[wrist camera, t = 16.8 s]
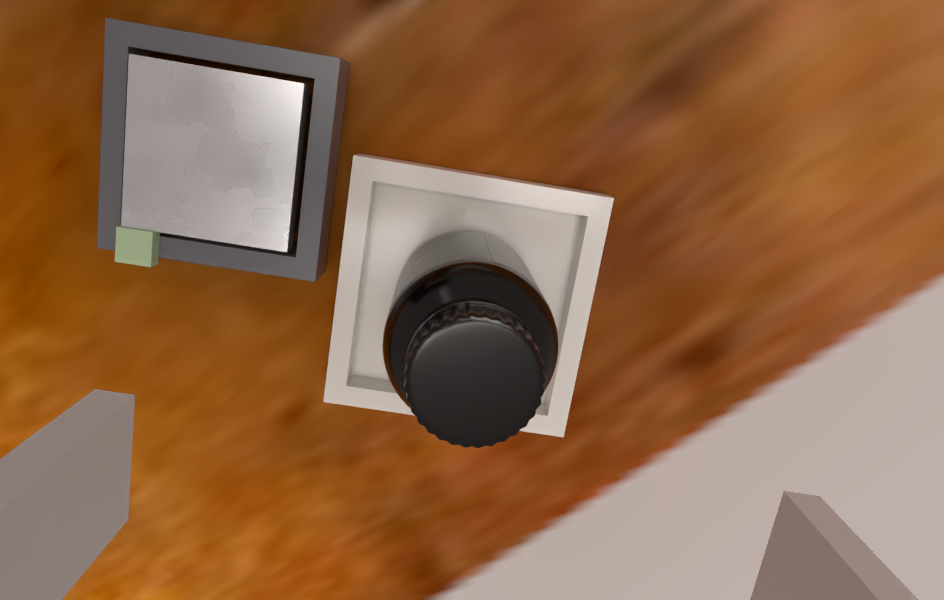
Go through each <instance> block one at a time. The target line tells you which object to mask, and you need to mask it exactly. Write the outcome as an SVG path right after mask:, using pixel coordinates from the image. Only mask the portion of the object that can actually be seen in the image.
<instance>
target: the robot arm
mask: <svg viewBox="0 0 944 600" xmlns="http://www.w3.org/2000/svg"><path fill="white" fill-rule="evenodd" d="M134 403H135V395H132V394H125V393H118V392H112V391H105V390H98V389H94V390H93V391H92V392H90V393H89V394H87V395H86V396H85V397H83V398H82V399H81V400H79V401H78V402H77V403H75V404H74V405H73V406H71V407H70V408H69V409H67V410H66V411H64V412H63V413H62V414H60V415H59V416H58V417H56V418H55V419H54V420H52V421H51V422H50V423H48V424H47V425H46V426H44V427H43V428H42V429H40V430H39V431H37V432H36V433H35V434H33V435H32V436H31V437H29V438H28V439H27V440H25V441H24V442H23V443H21V444H20V445H19V446H17V447H16V448H14V449H13V450H12V451H10V452H9V453H8V454H6V455H5V456H4V457H2V458H1V459H0V600H62V599H63V598H64V597H65V595H66V594H67V593H68V592H69V591H70V589H71V588H72V587H73V586H74V585H75V583H76V582H77V581H78V580H79V578H80V577H81V576H82V575H83V574H84V572H85V571H86V570H87V569H88V568H89V566H90V565H91V564H92V563H93V562H94V560H95V559H96V558H97V557H98V556H99V554H100V553H101V552H102V551H103V549H104V548H105V547H106V546H107V545H108V543H109V542H110V541H111V540H112V539H113V537H114V536H115V535H116V534H117V533H118V531H119V530H120V529H121V528H122V527H123V525H124V524H125V523H126V522H127V521H128V511H129V493H130V475H131V457H132V439H133V421H134ZM751 600H918V599H917V598H916V597H915V596H914V595H913V594H912V593H911V592H910V590H909V589H907V587H906V586H905V585H904V584H903V583H902V582H901V581H900V580H899V579H898V578H897V577H896V576H895V575H894V574H893V573H892V572H891V571H890V570H889V569H888V567H886V565H885V564H884V563H882V561H881V560H880V559H879V558H878V557H877V556H876V555H875V554H874V553H873V552H872V551H871V550H870V549H869V547H868V546H867V545H866V544H865V543H864V542H863V541H862V540H861V539H860V538H859V537H858V536H857V535H856V534H855V533H854V532H853V531H852V530H851V529H850V528H849V527H848V525H847V524H846V523H845V522H844V521H843V520H842V519H841V518H840V517H839V516H838V515H837V514H836V513H835V512H834V511H833V510H832V509H831V508H830V507H829V506H828V505H827V503H825V501H823V499H822V498H821V497H820V496H813V495H807V494H801V493H794V492H786V491H784V493H783V496H782V499H781V502H780V506H779V509H778V512H777V515H776V518H775V522H774V525H773V528H772V531H771V535H770V538H769V541H768V544H767V548H766V551H765V554H764V557H763V561H762V564H761V567H760V570H759V574H758V577H757V580H756V583H755V587H754V590H753V593H752V597H751Z"/></svg>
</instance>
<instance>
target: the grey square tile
mask: <svg viewBox="0 0 944 600" xmlns="http://www.w3.org/2000/svg"><path fill="white" fill-rule="evenodd" d="M309 91H310V85H308V84H304V83H299V82H293V81H287V80H281V79H275V78H269V77H263V76H257V75H251V74H246V73H240V72H234V71H228V70H222V69H216V68H210V67H204V66H199V65H193V64H187V63H181V62H175V61H169V60H163V59H157V58H152V57H146V56H140V55H134V54H129V61H128V83H127V105H126V127H125V150H124V172H123V194H122V216H121V226H123V227H129V228H135V229H142V230H148V231H154V232H161V233H167V234H173V235H180V236H186V237H192V238H199V239H205V240H211V241H218V242H224V243H231V244H237V245H243V246H250V247H256V248H262V249H269V250H275V251H281V252H288V251H290V250H291V249H292V248H293V244H294V235H295V225H296V216H297V206H298V197H299V187H300V178H301V168H302V158H303V149H304V139H305V130H306V120H307V111H308V101H309Z"/></svg>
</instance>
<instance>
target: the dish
mask: <svg viewBox="0 0 944 600" xmlns="http://www.w3.org/2000/svg"><path fill="white" fill-rule="evenodd" d="M613 201H614V198H612V197H610V196H608V195H606V194H603V193H597V192H591V191H585V190H579V189H573V188H567V187H561V186H555V185H549V184H543V183H537V182H531V181H525V180H519V179H513V178H507V177H501V176H495V175H489V174H483V173H476V172H470V171H464V170H458V169H452V168H446V167H440V166H434V165H428V164H422V163H416V162H410V161H404V160H398V159H392V158H386V157H380V156H374V155H368V154H362V153H359V154H356V155H353V161H352V170H351V178H350V186H349V194H348V203H347V211H346V219H345V227H344V236H343V244H342V252H341V260H340V269H339V277H338V285H337V293H336V301H335V310H334V318H333V326H332V334H331V343H330V351H329V359H328V367H327V376H326V384H325V392H324V400H323V402H327V403H334V404H341V405H348V406H354V407H361V408H368V409H375V410H382V411H388V412H395V413H402V414H409V415H414V414H413V413H412V412H411V409H410V408H409V407H408V406H407V405H406V404H405V403H404V402H403V401H402V399H401V398H400V397H399V395H398V394H397V393H396V391H395V389H394V388H393V386H392V384H391V382H390V380H389V378H388V375H387V372H386V369H385V365H384V359H383V333H384V327H385V323H386V320H387V316H388V313H389V309H390V306H391V302H392V299H393V295H394V292H395V288H396V285H397V281H398V279H399V276H400V274H401V271H402V269H403V268H404V266H405V264H406V263H407V261H408V260H409V258H410V257H411V256H412V255H413V254H414V253H415V252H416V251H417V250H418V249H419V248H420V247H421V246H422V245H424V244H425V243H427V242H428V241H430V240H432V239H434V238H436V237H438V236H441V235H444V234H447V233H452V232H459V231H472V232H479V233H483V234H486V235H489V236H492V237H494V238H496V239H498V240H500V241H502V242H503V243H505V244H506V245H508V246H509V247H510V248H511V249H513V250H514V251H515V252H516V253H517V255H518V256H519V257H520V258H521V259H522V261H523V262H524V264H525V265H526V267H527V268H528V270H529V272H530V273H531V275H532V277H533V279H534V280H535V282H536V284H537V286H538V287H539V289H540V291H541V293H542V294H543V296H544V298H545V300H546V301H547V303H548V305H549V307H550V309H551V312H552V314H553V317H554V320H555V324H556V327H557V332H558V342H559V347H558V358H557V363H556V367H555V371H554V374H553V376H552V379H551V381H550V383H549V385H548V387H547V388H546V390H545V392H544V394H543V396H542V397H541V405H540V406H539V407H538V408H537V409H536V414H535V416H534V417H533V418H532V419H530V420H529V422H528V424H527V426H526V427H524V428H522V429H520V430H519V431H524V432H531V433H538V434H545V435H552V436H558V437H564V433H565V428H566V423H567V419H568V414H569V409H570V404H571V400H572V395H573V390H574V385H575V381H576V376H577V371H578V366H579V362H580V357H581V352H582V348H583V343H584V338H585V333H586V329H587V324H588V319H589V314H590V310H591V305H592V300H593V295H594V291H595V286H596V281H597V276H598V272H599V267H600V262H601V258H602V253H603V248H604V243H605V239H606V234H607V229H608V224H609V220H610V215H611V210H612V205H613Z"/></svg>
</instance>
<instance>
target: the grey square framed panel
mask: <svg viewBox="0 0 944 600" xmlns="http://www.w3.org/2000/svg"><path fill="white" fill-rule="evenodd" d="M153 52H155V53H161V54H166V55H172V56H178V57H184V58H190V59H196V60H202V61H207V62H213V63H219V64H225V65H231V66H237V67H243V68H249V69H254V70H260V71H266V72H272V73H278V74H284V75H290V76H295V77H301V78H307V79H313V80H315V81H314V90H313V100H312V109H311V119H310V128H309V137H308V147H307V156H306V166H305V175H304V185H303V194H302V204H301V213H300V222H299V232H298V241H297V247H296V246H293V248H292V249H291V250H290V251H288V252H281V251H275V250H269V249H262V248H256V247H250V246H243V245H237V244H231V243H224V242H218V241H211V240H205V239H199V238H192V237H186V236H180V235H173V234H167V233H161V232H154V231H148V230H142V229H135V228H129V227H123V226H121V216H122V194H123V172H124V150H125V127H126V105H127V83H128V61H129V54H134V55H140V56H146V57H152V58H153ZM348 72H349V63H348V62H346V61H345V60H343V59H341V58H336V57H330V56H324V55H319V54H313V53H307V52H301V51H295V50H290V49H284V48H278V47H272V46H266V45H261V44H255V43H249V42H243V41H237V40H232V39H226V38H220V37H214V36H208V35H203V34H197V33H191V32H185V31H179V30H174V29H168V28H162V27H156V26H150V25H145V24H139V23H133V22H127V21H121V20H116V19H110V18H105V41H104V68H103V95H102V122H101V149H100V176H99V203H98V230H97V248H101V249H107V250H113V251H115V262H120V263H126V264H133V265H139V266H146V267H153V266H155V265H157V264H158V260H159V258H165V259H171V260H178V261H184V262H190V263H197V264H203V265H210V266H216V267H223V268H229V269H235V270H242V271H248V272H255V273H261V274H268V275H274V276H280V277H287V278H293V279H300V280H306V281H312V282H315V281H316V280H317V279H318V278H319V277H320V276H321V275H322V274H323V273H324V272H325V269H326V260H327V252H328V243H329V235H330V226H331V217H332V209H333V200H334V192H335V183H336V175H337V166H338V157H339V149H340V140H341V132H342V123H343V114H344V106H345V97H346V89H347V80H348Z"/></svg>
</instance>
